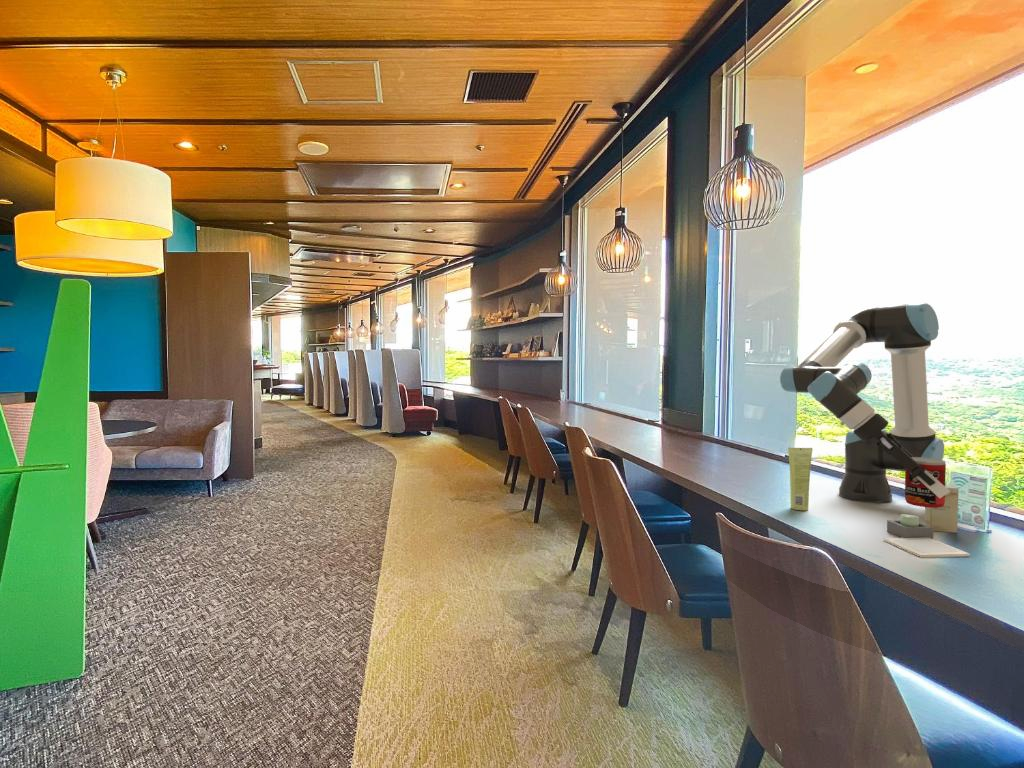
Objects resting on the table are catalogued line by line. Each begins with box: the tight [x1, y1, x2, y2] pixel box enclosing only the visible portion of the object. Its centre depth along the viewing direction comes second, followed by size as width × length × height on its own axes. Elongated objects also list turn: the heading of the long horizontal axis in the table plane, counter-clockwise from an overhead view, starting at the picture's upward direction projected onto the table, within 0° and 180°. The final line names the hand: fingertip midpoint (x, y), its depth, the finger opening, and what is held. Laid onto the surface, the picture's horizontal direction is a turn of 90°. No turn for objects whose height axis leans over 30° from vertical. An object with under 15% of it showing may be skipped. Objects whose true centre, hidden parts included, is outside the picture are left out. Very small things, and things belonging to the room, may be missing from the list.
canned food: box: [904, 457, 947, 508], centre depth 131 cm, size 8×8×11 cm
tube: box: [787, 447, 813, 511], centre depth 168 cm, size 6×5×20 cm
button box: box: [886, 519, 934, 539], centre depth 142 cm, size 7×7×3 cm
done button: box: [899, 513, 920, 527], centre depth 142 cm, size 4×4×3 cm
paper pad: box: [882, 537, 971, 558], centre depth 132 cm, size 12×12×1 cm
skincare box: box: [924, 484, 960, 533], centre depth 146 cm, size 6×4×12 cm
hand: (942, 491), depth 129 cm, fingers closed on canned food, 8 cm apart
